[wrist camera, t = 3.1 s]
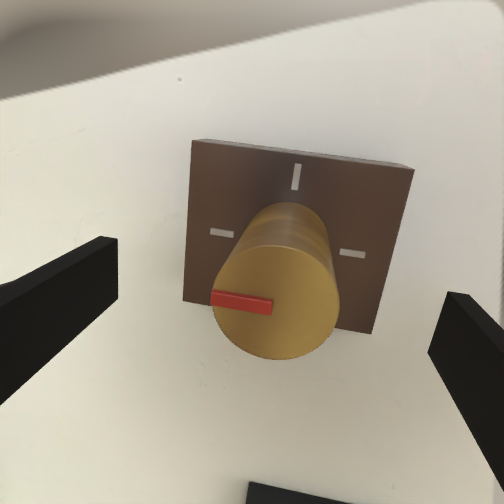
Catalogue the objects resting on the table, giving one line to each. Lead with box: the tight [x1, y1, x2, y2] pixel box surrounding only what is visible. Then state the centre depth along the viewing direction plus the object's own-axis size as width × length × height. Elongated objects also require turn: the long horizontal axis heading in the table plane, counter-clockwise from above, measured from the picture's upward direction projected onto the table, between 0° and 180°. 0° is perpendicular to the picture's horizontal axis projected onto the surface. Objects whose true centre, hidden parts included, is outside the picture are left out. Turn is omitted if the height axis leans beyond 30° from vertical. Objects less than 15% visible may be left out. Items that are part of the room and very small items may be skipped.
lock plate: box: [183, 139, 415, 334], centre depth 22 cm, size 12×10×3 cm
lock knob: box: [210, 202, 340, 360], centre depth 17 cm, size 5×5×8 cm
